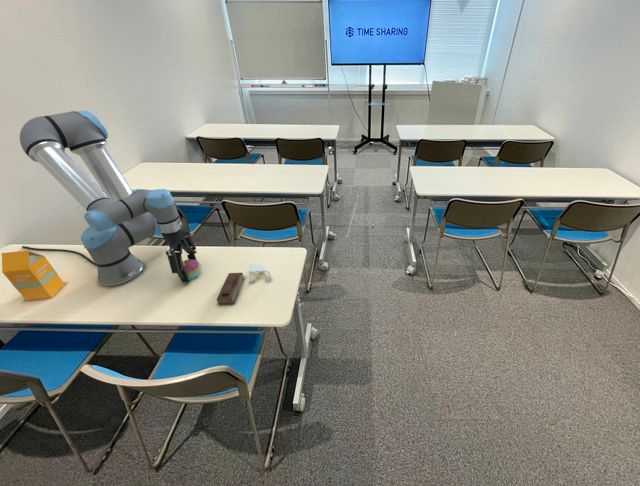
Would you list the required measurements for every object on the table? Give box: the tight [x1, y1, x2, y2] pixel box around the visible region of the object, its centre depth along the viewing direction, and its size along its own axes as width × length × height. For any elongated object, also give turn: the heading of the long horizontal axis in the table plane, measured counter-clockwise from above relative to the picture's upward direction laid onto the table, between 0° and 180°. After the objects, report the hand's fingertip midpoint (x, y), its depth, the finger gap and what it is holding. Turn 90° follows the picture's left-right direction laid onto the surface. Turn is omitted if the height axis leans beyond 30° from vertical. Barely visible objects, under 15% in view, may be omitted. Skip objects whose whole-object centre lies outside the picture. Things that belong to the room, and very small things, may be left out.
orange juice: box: [1, 250, 65, 301], centre depth 110 cm, size 8×9×20 cm
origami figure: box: [247, 263, 273, 283], centre depth 120 cm, size 12×8×5 cm
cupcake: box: [182, 259, 201, 280], centre depth 120 cm, size 9×8×12 cm
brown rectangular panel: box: [216, 272, 245, 306], centre depth 114 cm, size 14×6×4 cm, turn 3°
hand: (190, 274), depth 122 cm, fingers closed on cupcake, 9 cm apart
